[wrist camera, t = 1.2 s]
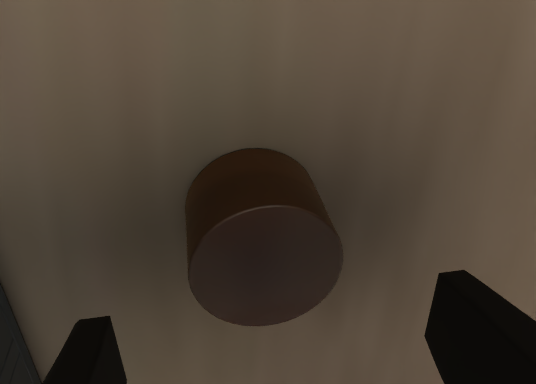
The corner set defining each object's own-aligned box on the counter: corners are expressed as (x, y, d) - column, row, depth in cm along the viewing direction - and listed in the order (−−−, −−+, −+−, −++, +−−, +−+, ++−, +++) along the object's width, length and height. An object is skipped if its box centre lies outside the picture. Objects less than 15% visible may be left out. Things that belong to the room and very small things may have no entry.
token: (313, 250, 16) (338, 316, 14) (192, 264, 16) (195, 336, 13) (317, 141, 14) (349, 197, 12) (178, 154, 14) (179, 214, 11)
